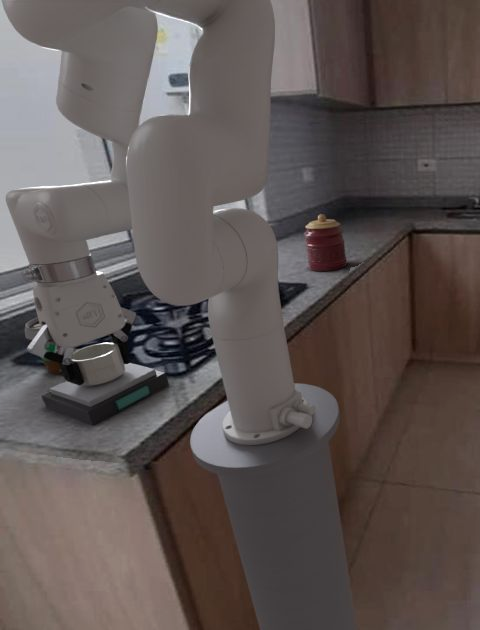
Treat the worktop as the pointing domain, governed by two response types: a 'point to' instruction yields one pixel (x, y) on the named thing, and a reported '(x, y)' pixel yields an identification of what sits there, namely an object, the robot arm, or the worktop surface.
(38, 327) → the food container
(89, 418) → the scale
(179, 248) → the robot arm
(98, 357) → the bowl
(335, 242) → the kitchen canister
